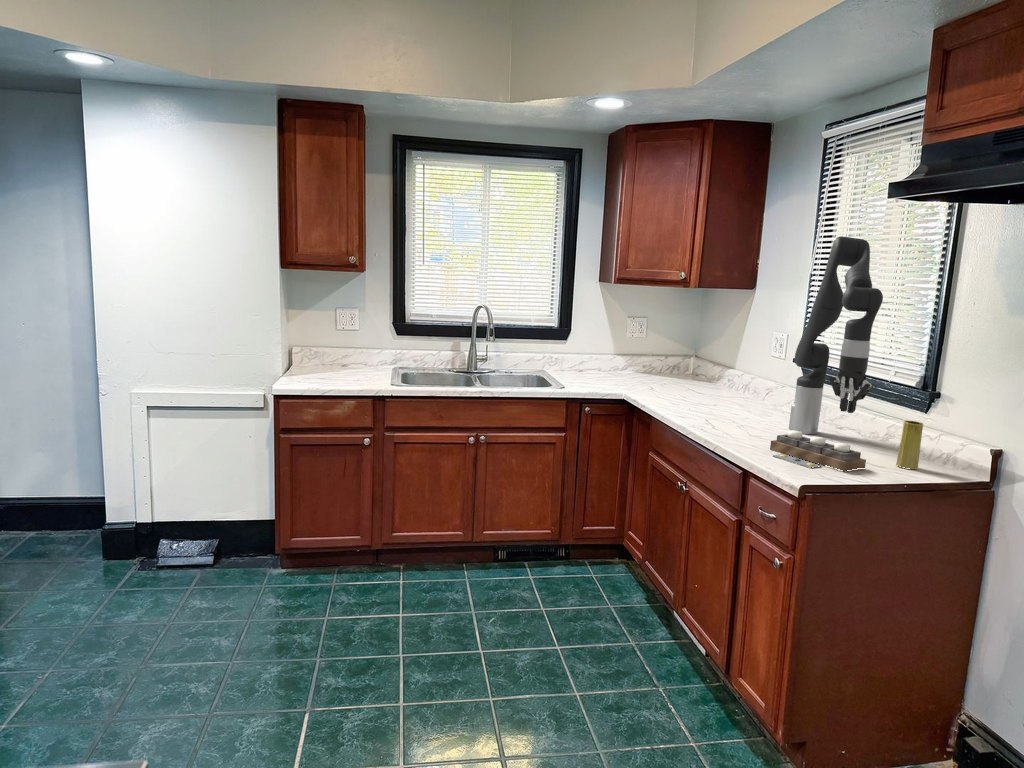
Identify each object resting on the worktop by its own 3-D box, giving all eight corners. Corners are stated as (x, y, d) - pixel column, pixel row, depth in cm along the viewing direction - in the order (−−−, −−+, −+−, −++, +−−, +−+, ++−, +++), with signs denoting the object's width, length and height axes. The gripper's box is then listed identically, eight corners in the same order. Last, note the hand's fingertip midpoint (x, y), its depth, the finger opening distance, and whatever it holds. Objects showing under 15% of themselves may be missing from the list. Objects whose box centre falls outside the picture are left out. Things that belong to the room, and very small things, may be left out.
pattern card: (772, 456, 219) (772, 454, 219) (783, 455, 221) (783, 453, 221) (810, 468, 207) (811, 466, 207) (821, 466, 209) (821, 465, 209)
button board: (769, 449, 227) (771, 434, 227) (790, 447, 232) (791, 432, 232) (844, 472, 204) (846, 456, 204) (864, 469, 209) (867, 453, 209)
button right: (830, 449, 211) (831, 443, 211) (839, 448, 213) (840, 442, 213) (843, 453, 207) (844, 447, 207) (852, 452, 210) (853, 445, 209)
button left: (784, 436, 226) (785, 430, 225) (793, 435, 228) (794, 429, 228) (795, 439, 222) (796, 433, 222) (804, 438, 224) (805, 432, 224)
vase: (910, 464, 218) (917, 420, 215) (922, 470, 211) (929, 425, 209) (891, 464, 217) (898, 419, 215) (903, 469, 211) (910, 424, 209)
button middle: (806, 443, 218) (807, 436, 218) (815, 441, 221) (816, 435, 220) (818, 446, 215) (819, 440, 214) (827, 445, 217) (828, 439, 217)
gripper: (884, 358, 202) (875, 416, 204) (841, 351, 213) (834, 406, 216) (868, 358, 198) (860, 417, 201) (826, 352, 209) (819, 408, 212)
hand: (846, 411), depth 208 cm, fingers closed
